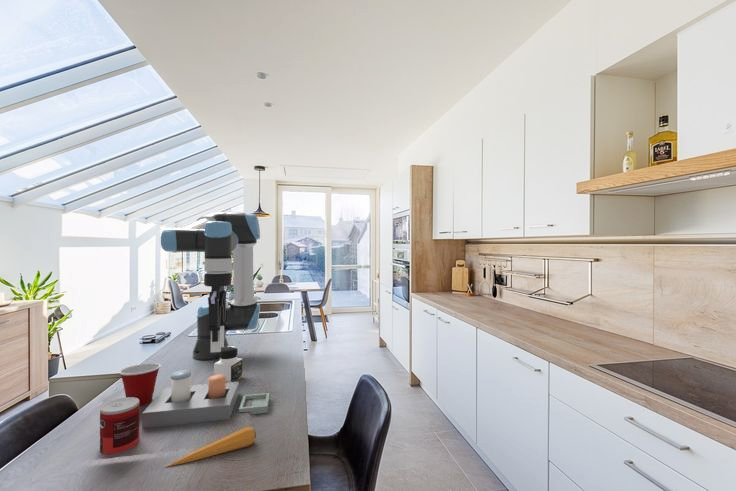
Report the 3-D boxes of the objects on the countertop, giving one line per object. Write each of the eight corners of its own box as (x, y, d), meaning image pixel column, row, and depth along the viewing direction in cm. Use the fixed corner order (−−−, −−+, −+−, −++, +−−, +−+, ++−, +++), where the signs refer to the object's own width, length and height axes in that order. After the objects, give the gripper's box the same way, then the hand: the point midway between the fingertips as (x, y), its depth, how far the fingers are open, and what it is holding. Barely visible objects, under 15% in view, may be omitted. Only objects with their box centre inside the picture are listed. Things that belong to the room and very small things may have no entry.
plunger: (210, 394, 102) (210, 375, 102) (227, 392, 103) (227, 373, 103) (206, 401, 97) (206, 381, 97) (223, 400, 98) (224, 380, 98)
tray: (243, 401, 106) (243, 395, 106) (269, 398, 107) (269, 392, 107) (238, 415, 97) (238, 408, 97) (267, 412, 99) (267, 406, 99)
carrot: (255, 442, 85) (252, 423, 87) (257, 444, 82) (254, 425, 83) (165, 476, 75) (163, 454, 77) (163, 481, 72) (162, 458, 73)
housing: (165, 403, 104) (165, 387, 104) (238, 396, 109) (238, 381, 109) (142, 431, 88) (142, 412, 88) (229, 422, 93) (229, 405, 93)
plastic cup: (163, 394, 110) (163, 358, 109) (157, 409, 100) (158, 370, 100) (123, 400, 105) (123, 363, 105) (113, 417, 95) (114, 376, 95)
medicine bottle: (231, 384, 118) (231, 351, 118) (213, 382, 119) (213, 349, 119) (242, 376, 125) (242, 345, 125) (225, 375, 126) (226, 344, 126)
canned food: (113, 439, 84) (113, 397, 84) (146, 438, 85) (146, 396, 85) (91, 459, 77) (91, 412, 77) (127, 457, 78) (127, 411, 77)
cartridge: (174, 406, 100) (174, 370, 100) (193, 405, 101) (193, 369, 101) (167, 415, 94) (168, 377, 94) (187, 413, 96) (187, 376, 96)
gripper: (211, 270, 107) (211, 341, 107) (196, 275, 91) (195, 359, 91) (236, 270, 109) (235, 340, 109) (225, 274, 92) (224, 358, 92)
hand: (217, 349), depth 100 cm, fingers open, 4 cm apart
